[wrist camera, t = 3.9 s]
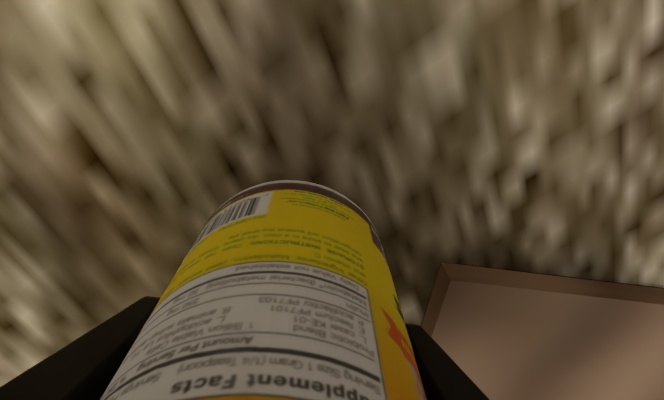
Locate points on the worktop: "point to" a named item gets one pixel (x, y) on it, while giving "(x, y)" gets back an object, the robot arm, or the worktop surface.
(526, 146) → the worktop surface
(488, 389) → the walnut board
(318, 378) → the supplement bottle
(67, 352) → the robot arm
